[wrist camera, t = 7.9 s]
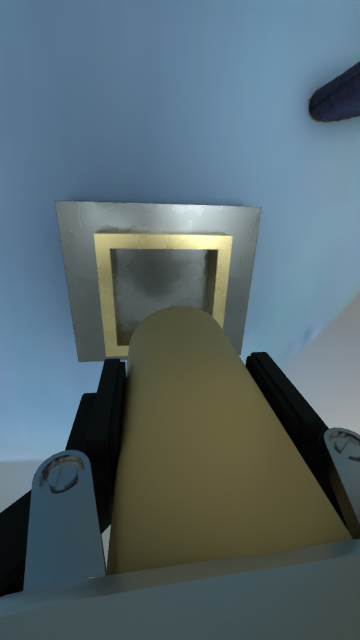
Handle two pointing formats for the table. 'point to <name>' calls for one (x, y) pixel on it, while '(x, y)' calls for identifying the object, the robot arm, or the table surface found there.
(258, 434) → the cylinder
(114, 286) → the grey square socket base
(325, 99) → the wallet
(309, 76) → the table surface
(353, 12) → the table surface
